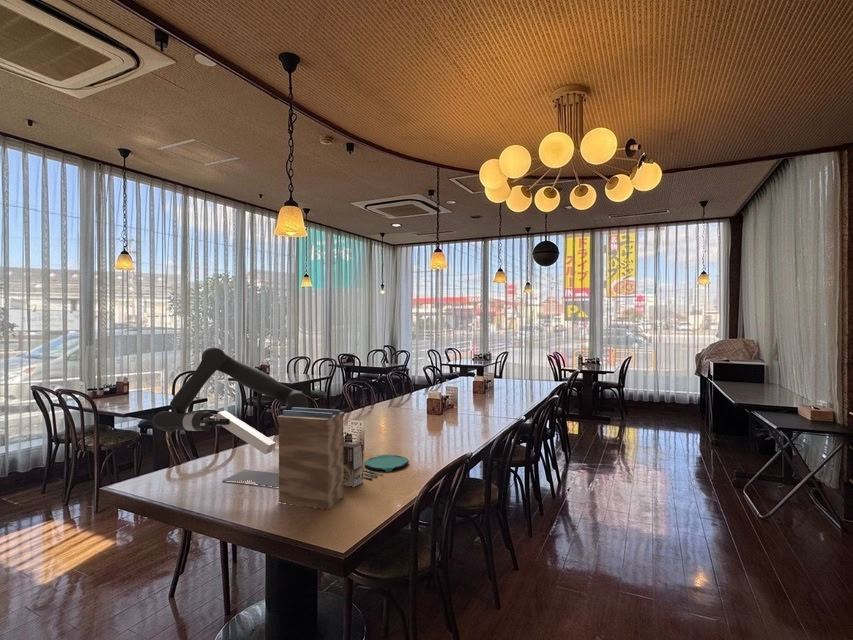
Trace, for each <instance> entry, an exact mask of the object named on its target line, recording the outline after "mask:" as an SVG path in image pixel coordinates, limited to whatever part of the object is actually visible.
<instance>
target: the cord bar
mask: <svg viewBox="0 0 853 640" xmlns="http://www.w3.org/2000/svg"><path fill="white" fill-rule="evenodd" d="M216 415H217V416H216V418H217V419H230V424H229V425H220V427H222V428H224V429H226V430H227V431H228V432H230V433H232V434H234V435H235V436H236V437H238V439H240V440H242V441H244V442H245V443H247V444H249V445H250V446H252V447H253V448H255V449H256V450H257V451H259V452H261V453H262V454H264V455H268V454H269V453H272V452H273V449H274V447H275V445H276V442H275V441H274V440H272V439H271V438H269V437H267V436H266V435H265V434H263V433H262V432H260V431H258V430H256V428H254V427H252V426H250V425H249V424H247V422H244V421H243V420H241V419H239V417H238V418H236V417H235V415H233V414H232V413H230V412H229V411H228V410H226V409H225V410H222V411H218V412H217V414H216Z"/></svg>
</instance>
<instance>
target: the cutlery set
mask: <svg viewBox="0 0 853 640" xmlns="http://www.w3.org/2000/svg"><path fill="white" fill-rule="evenodd" d="M409 462H410V461H409V458H407V457H405V456H401V455H394V454H381V455H376V456H374V457H370V458H369V459H368V458H367V459H366V460H365V461H364V467H368V468H369V469H372V470H379V471H385V472H386V473H390V472H392V471H393V470H394V469H396V470H397V469H399V468H402V467H405V466H406V465H407V464H409ZM372 470H367V469H363V479H364V478H367V479H366V480H369V479H371V480H370V481H373V480H372V479H373V477H375V478H378V477H379V475H380V476H382V475H383V474H384V473H378V472H376V471H372ZM365 471H367V472H365ZM364 472H365V473H364ZM365 474H366V476H364V475H365ZM383 476H384V475H383Z"/></svg>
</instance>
